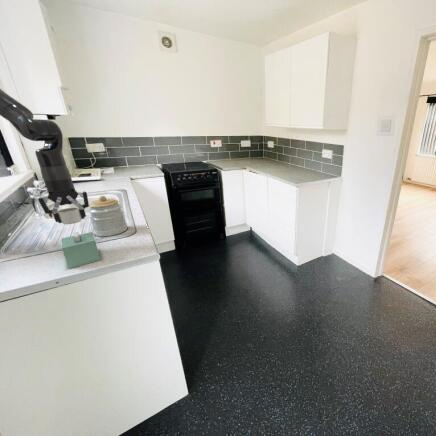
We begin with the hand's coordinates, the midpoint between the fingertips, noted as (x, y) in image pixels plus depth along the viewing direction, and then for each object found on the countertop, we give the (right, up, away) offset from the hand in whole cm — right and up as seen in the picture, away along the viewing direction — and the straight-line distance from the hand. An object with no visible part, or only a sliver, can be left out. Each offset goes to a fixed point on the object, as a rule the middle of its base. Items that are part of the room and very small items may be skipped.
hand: (71, 220), depth 95 cm
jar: (-1, -6, +22) cm, 23 cm away
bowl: (0, -1, 0) cm, 1 cm away
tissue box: (+7, -14, -3) cm, 16 cm away
